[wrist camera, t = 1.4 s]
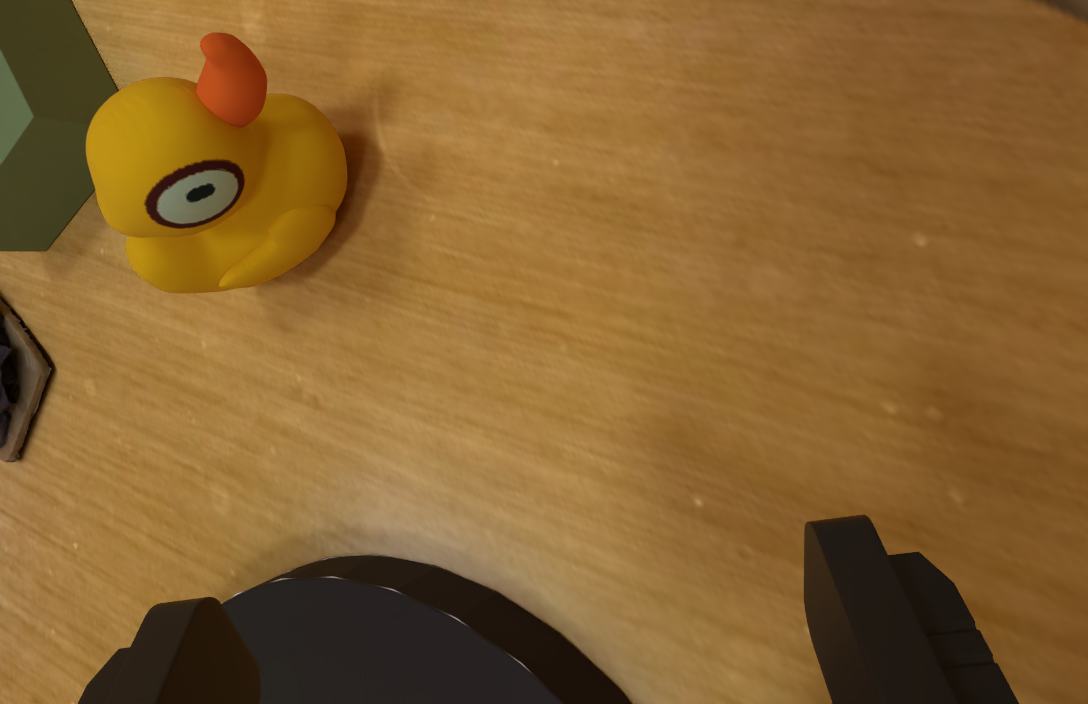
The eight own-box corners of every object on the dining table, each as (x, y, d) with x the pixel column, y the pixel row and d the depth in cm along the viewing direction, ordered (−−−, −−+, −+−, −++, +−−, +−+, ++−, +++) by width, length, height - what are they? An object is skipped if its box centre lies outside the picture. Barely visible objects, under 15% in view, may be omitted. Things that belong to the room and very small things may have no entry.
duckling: (364, 38, 32) (135, -43, 23) (438, 139, 31) (226, 93, 22) (220, 228, 37) (-15, 220, 28) (279, 321, 36) (54, 343, 27)
